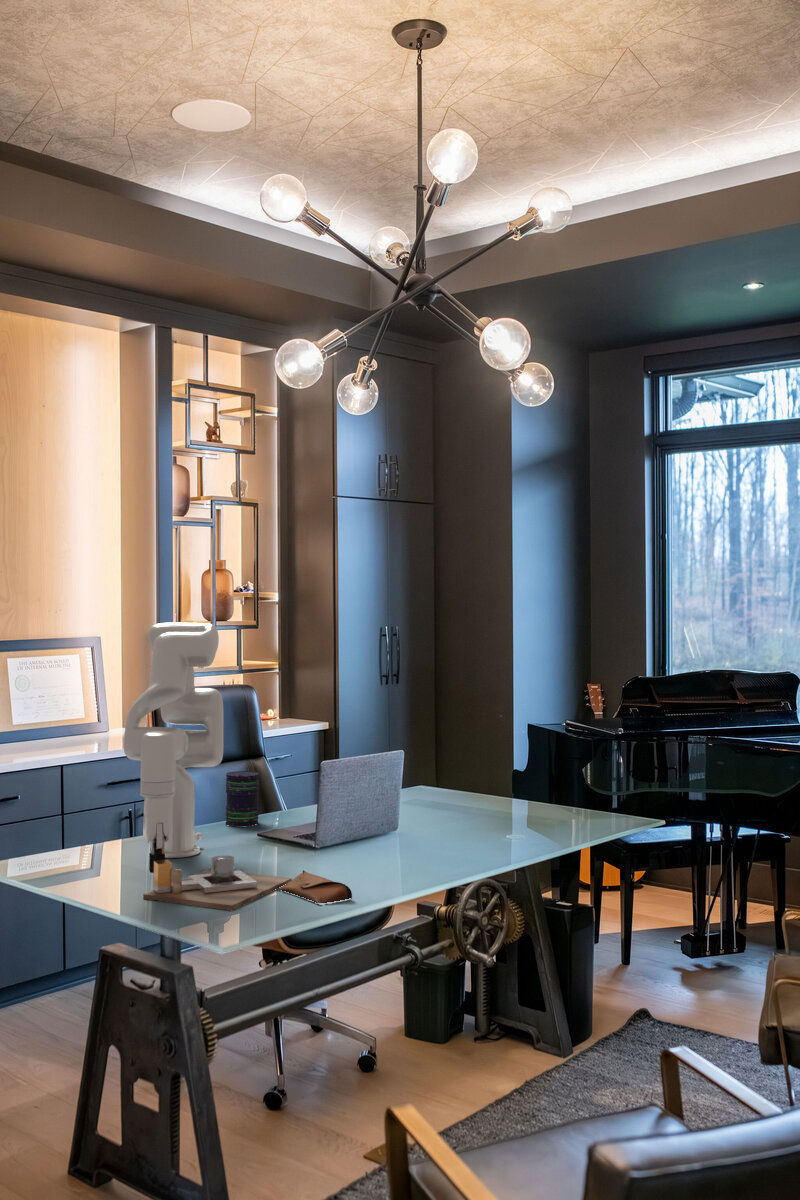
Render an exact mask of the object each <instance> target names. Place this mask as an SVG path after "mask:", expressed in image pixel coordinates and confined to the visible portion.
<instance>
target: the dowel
mask: <svg viewBox="0 0 800 1200" xmlns="http://www.w3.org/2000/svg"><path fill="white" fill-rule="evenodd" d="M182 879H183V869H182V868H174V869H173V868H172V894H181V893H182Z"/></svg>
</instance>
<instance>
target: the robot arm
mask: <svg viewBox="0 0 800 1200" xmlns="http://www.w3.org/2000/svg"><path fill="white" fill-rule="evenodd" d="M147 635H148V636H147V637H148V642H149V646H150V649H151V651H152V654H151V655H152V657H151V665H150V675H149V685H148V688H147V689H146V690H145V691H144V692H143V693H141V694H140V695H139V696H137V698H136V699H135V700H134V702H133V703H132V705H131V706H130V708H129V710H128V712H127V714H126V718H125V726H124V727H125V728H124V735H123V753H124V755H125V757H126V758H128V759H129V760H131V761H140V791H139V792H140V793H139V796H140V797H143V798H144V802H143V803H144V804H143V825H142V826H143V827H142V836H143V838H144V841H145V842H146V843H147V844H149V845H150V846H149V851H150V852H149V853H148V854H149V856H148V857H149V858H148V861H149V862H148V863H149V864H148V866H149V867H148V868H149V869H148V871H149V873H151V874H154V861H158V860H166V859H174V858H175V859H176V858H177V859H179V858H189V857H192V856H196V855H198V854H200V852H201V847H200V846H198V845H196V842H197V841H200V840H202V839H203V833H202V832H195V803H196V802H195V801H196V798H195V796H196V794H195V793H196V787H195V786H196V784H195V781H194V779H193V777H192V776H191V775H190V774H189V773H188V771H187V770H186V768H213V767H217V766H219V765H220V764H221V762H222V761H223V759H224V758H223V757H224V701H223V696H222V694H221V692H220V691H219V690H218V689H216V688H213V687H212V688H211V687H195V668H194V667H197V668H202V667H203V668H205V667H206V668H207V667H210V666H211V665H212V664H213V662H214V660H215V657H216V654H217V651H218V648H219V642H220V641H219V640H220V639H219V637H220V636H219V632H218V628H217V627H216V626H215V625H214V624H212V623H208V622H206V623H205V622H160V623H156V624H153V625H151V626H150V627H149V629H148V634H147ZM158 709H160V715H161V716H160V717H161V720H162V721H163V722H164V723H166V724H168V725H173V726H174V725H175V726H177V725H178V726H203V727H204V728H205V729H183V728H180V727H175V726H174V727H173V726H163V727H162V726H139V725H140V723H141V721H143V719H144V718H145V717H146V716H147V715H148V714H151V712H153V711H156V710H158Z"/></svg>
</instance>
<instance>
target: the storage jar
mask: <svg viewBox="0 0 800 1200" xmlns="http://www.w3.org/2000/svg"><path fill="white" fill-rule="evenodd" d="M259 776H260V773H259V772H257V771H245V770H244V771H243V770H240V771H238V770H237V771H230V772H226V773H225V777H226V779H225V794H226V806H225V811H224V812H225V813H224V815H225V826H227V825H229V826H228V827H230V826H251V827H253V826H252V825H255V824H258V825H259V816H260V811H259V792H260V791H259V790H260V777H259Z"/></svg>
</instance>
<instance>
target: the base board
mask: <svg viewBox="0 0 800 1200" xmlns="http://www.w3.org/2000/svg"><path fill="white" fill-rule="evenodd" d="M210 873H211V868H209V869H206V870H204V871H201V872H198V873H195V874H194V875H200V874H210ZM243 873H244V874H246V875H247V876H249V877H251V878H252V879H254V880H255V881H257V887H255V888H246V889H237V890H228V891H219V892H210V893H203V892H202V891H201V890H200V889H192V890H183V891H182V893H181V894H172V892H165V893H157V892H156V891H155V890H154V889H153V890H151V891H149V892H146V893H144V894H142V895H143V896H142V897H143V898H142V899H143V900H147V899H150V901H155V900H158V901H157V902H163V901H165V902H166V903H171V902H172V903H173V904H178V903H180V905H187V906H195V907H204V908H209V909H217V910H225V909H226V911H234V910H236V909H238V908H240V907H243V906H245V905H247V904H248V903H251V902H253V901H255V900H257V898H258V899H260V898H262V897H263V896H262V895H264V896H266V895H268V894H270V893H272V892H271V891H273V890H275V889H277V888H279V887H281V886H283V885H285V884H287V883H288V882H290V881H291V880H293V878H292V877H286V876H285V877H281V876H276V875H275V876H274V875H266V874H264V875H263V874H257V873H256V874H255V873H247V872H243ZM186 880H188V877H185V878H182V881H186ZM209 882H210V883H211V881H209ZM234 882H235V880H234ZM281 888H282V887H281ZM279 889H280V888H279ZM277 890H278V889H277ZM275 891H276V890H275ZM269 892H270V893H269ZM273 892H274V891H273ZM267 893H268V894H267ZM265 894H266V895H265ZM261 896H262V897H261ZM259 897H260V898H259ZM246 903H247V904H246ZM244 904H245V905H244ZM233 909H234V910H233Z"/></svg>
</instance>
